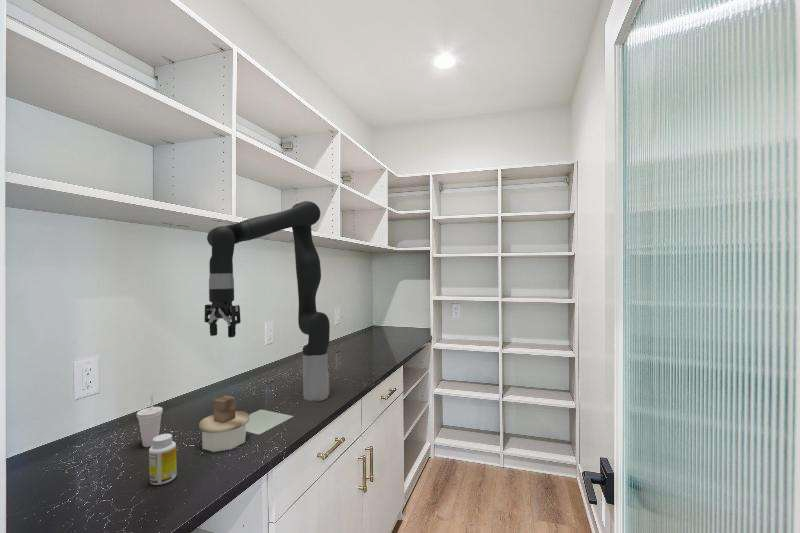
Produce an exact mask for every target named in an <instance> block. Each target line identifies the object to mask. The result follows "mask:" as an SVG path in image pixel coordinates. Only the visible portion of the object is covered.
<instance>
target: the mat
mask: <svg viewBox="0 0 800 533" xmlns="http://www.w3.org/2000/svg"><path fill="white" fill-rule="evenodd" d="M291 418H294V415H290V414H284V413H280V412H276V411H270V410H266V409H258V410H257V411H255V412H252V413H249V421H248V422H247V423H246V433H252V434H255V435H258V436H259V435H262V434H264V433H266V432H267V431H269V430H271V429H273V428H274V427H275V428H276V426H278V425H280V424H282V423H284V422H286V421H288V420H289V419H291Z"/></svg>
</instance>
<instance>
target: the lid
mask: <svg viewBox="0 0 800 533" xmlns="http://www.w3.org/2000/svg"><path fill="white" fill-rule="evenodd" d="M212 402H213V414H211V415H209V416H207V417H204V418H203V419H201V420H200V422H199V423H198V424H199V425H198V427H199V428H198V429H199V430H200V432H202V431H203V432H206V433H220V432H226V431H231V430H234V429H237V428H239V427H242V426H243V425H245V424H246V423H247V422H248V421H249V415H250V413H247V412H246V411H242V410H236V397H235V396H230V395H223V396H220V397H218V398H216V399H213V400H212Z"/></svg>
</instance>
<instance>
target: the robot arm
mask: <svg viewBox="0 0 800 533" xmlns="http://www.w3.org/2000/svg"><path fill="white" fill-rule="evenodd" d="M320 218H321V209H320V207H319V206H318V205H317V203H315V202H313V201H308V200H307V201H305V200H304V201H301V202H298V203H295V204H294V205H292V207H291V208H288V209H285V210H283V211H279V212H275V213H274V212H273V213H270V214H265V215H260V216H255V217H252V218H247V219H244V221H243V220H242V222H241V221H239V222H240V223H238V222H236V223H237V224H236V223H232V224H228V225H220V226H216V227H214V228H212V229H211V230H209V231H208V233H207V235H206V236H207V237H206V239H207V243H208V245H210V246H211V256H210V259H209V262H208V264H209V266H208V267H209V277H208V300H209V304H205V305H204V323H207V324H208V325H209V335H210V337H214V336H217V335H218V321H219V320H221V319H223V321H225V322H226V323H227V337H228V338H234V337H236V333H237V332H236V328H237V327H236V326H237V325H238V324H241V321H242V320H241V308H240V307H241V306H240V305H239V304H236V305H233V302H234V301H235V278H234V265H233V264H234V262H233V257H234V253H235V246H236V244H239V243H241V242H247V241H252V240H255V239H259V238H262V237H265V236H267V235H268V236H269V235H271V234H273V233H277V232H280V231H283V230H285V229H289V228H291V230H292V234H293V236H292V237H293V242H294V243H293V244H294V259H295V271H296V274H295V275H296V281H297V295H298V313H297V314H298V316H297V317H298V320H297V322H298V328H299V330H300V332H301V333H302V334H304V335H307V336H308V342H307V344H305V345H304V346H303V347H302V377H303V378H302V379H303V380H302V382H303V383H302V384H303V386H302V387H303V389H302V390H303V392H302V393H303V400H305V401H310V402H321V401H324V400H327V399H328V397H329V396H330V371H329V370H328V347H329V346H330V328H331V327H330V319H329V317H328V315H327V314H325V313H324V312H320V311H317V305H316V303H317V302H316V301H317V300H316V296H317V294H318V293H317V292H318V289H319V286H320V283H321V279H322V270H321V269H322V268H321V259H320V257H319V253H318V251H317V249H316V246H315V244H314V241H313V236H312V226H313V225H315V224H316V223H317V222H318V221H319V220H320Z"/></svg>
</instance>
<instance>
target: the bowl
mask: <svg viewBox="0 0 800 533" xmlns="http://www.w3.org/2000/svg"><path fill="white" fill-rule="evenodd" d="M246 437H247V432H246V424H245V425H243V426H242V427H239V428H237V429H234V430H231V431H226V432H220V433H206V432H203V431H201V439H202V440H201V441H202V444H201V445H202V446H201V448H202V450H204V451H209V452H212V453H216V452H222V451H228V450H233V449H235V448H236V447H238V446H240V445H242V444H244V443H246Z"/></svg>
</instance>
